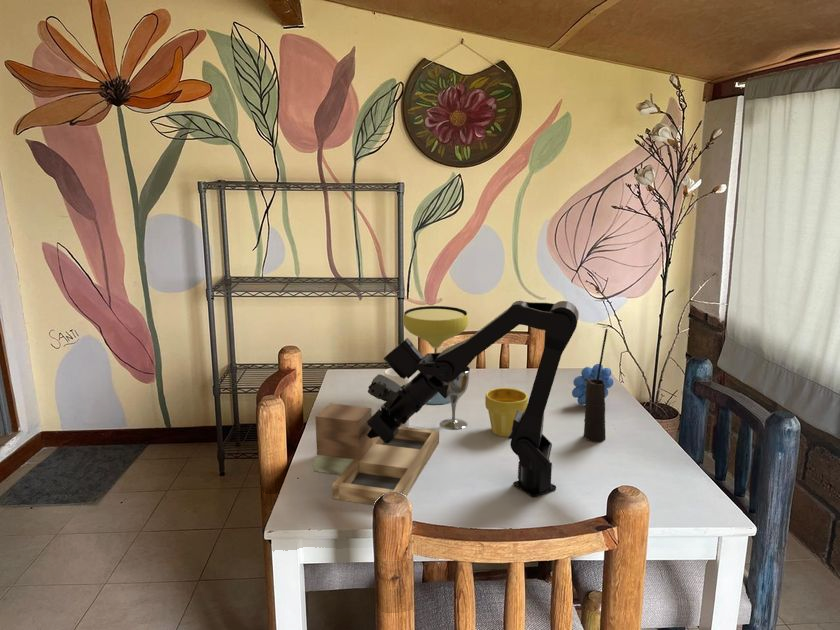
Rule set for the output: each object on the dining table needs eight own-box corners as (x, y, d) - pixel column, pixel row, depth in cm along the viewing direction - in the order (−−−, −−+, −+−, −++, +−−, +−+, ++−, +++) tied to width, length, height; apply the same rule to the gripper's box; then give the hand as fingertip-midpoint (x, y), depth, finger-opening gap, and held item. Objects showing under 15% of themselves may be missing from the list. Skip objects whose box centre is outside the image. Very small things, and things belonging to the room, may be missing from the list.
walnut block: (372, 445, 147) (371, 407, 145) (359, 460, 139) (358, 421, 137) (331, 440, 149) (330, 403, 147) (316, 454, 142) (315, 416, 140)
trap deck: (439, 442, 155) (439, 431, 154) (398, 508, 125) (398, 494, 125) (351, 432, 161) (351, 421, 160) (293, 492, 132) (292, 479, 131)
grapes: (605, 398, 183) (608, 358, 181) (615, 407, 177) (618, 365, 174) (565, 400, 182) (568, 360, 179) (574, 409, 176) (576, 367, 173)
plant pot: (525, 441, 155) (527, 403, 153) (482, 438, 157) (483, 400, 155) (527, 425, 165) (528, 388, 163) (486, 421, 167) (487, 386, 165)
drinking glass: (379, 430, 162) (378, 373, 159) (393, 420, 168) (392, 365, 165) (403, 435, 159) (402, 377, 156) (416, 425, 165) (416, 369, 162)
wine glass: (450, 415, 171) (450, 361, 168) (475, 423, 166) (476, 367, 163) (431, 425, 165) (431, 369, 162) (456, 433, 160) (457, 375, 157)
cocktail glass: (468, 388, 192) (469, 306, 186) (465, 411, 175) (467, 321, 169) (407, 386, 194) (407, 305, 188) (399, 408, 176) (398, 319, 171)
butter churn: (562, 434, 159) (567, 324, 153) (589, 426, 164) (596, 319, 158) (590, 448, 152) (597, 333, 145) (617, 438, 157) (626, 327, 150)
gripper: (404, 353, 145) (359, 395, 151) (375, 379, 128) (326, 425, 133) (437, 389, 145) (391, 430, 150) (414, 420, 127) (363, 465, 133)
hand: (368, 436), depth 142 cm, fingers closed
